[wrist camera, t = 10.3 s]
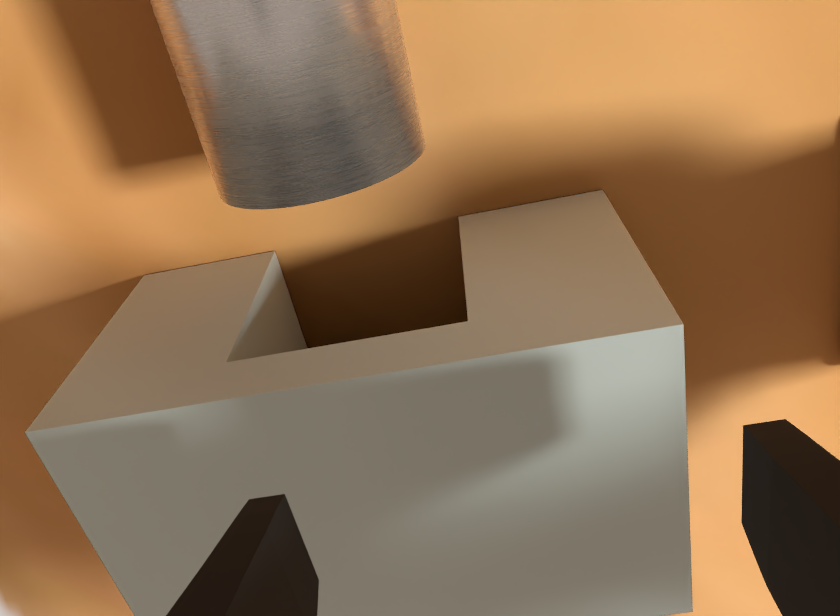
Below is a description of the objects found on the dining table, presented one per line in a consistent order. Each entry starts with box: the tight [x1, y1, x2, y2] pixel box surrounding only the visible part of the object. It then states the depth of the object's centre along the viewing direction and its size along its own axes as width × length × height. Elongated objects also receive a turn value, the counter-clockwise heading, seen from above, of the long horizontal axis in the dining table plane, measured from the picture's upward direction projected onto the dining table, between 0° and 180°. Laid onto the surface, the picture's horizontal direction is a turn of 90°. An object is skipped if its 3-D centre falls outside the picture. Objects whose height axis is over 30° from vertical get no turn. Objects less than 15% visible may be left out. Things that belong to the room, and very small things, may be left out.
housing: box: [25, 190, 693, 616], centre depth 19 cm, size 13×8×7 cm, turn 102°
